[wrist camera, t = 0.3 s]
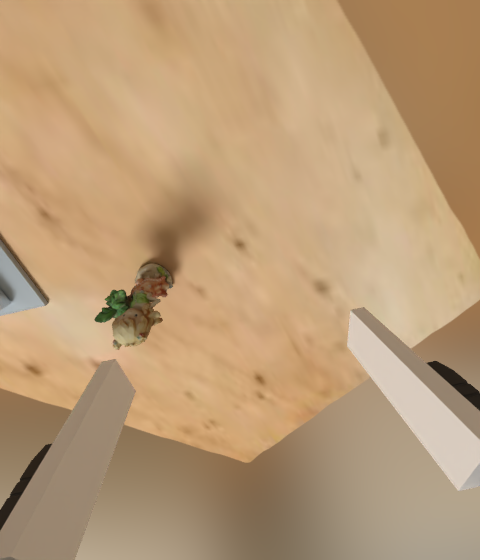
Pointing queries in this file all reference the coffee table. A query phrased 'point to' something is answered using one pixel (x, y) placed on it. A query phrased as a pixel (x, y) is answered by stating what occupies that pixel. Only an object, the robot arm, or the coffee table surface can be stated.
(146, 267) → the figurine
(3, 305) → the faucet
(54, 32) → the coffee table surface
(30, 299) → the board
